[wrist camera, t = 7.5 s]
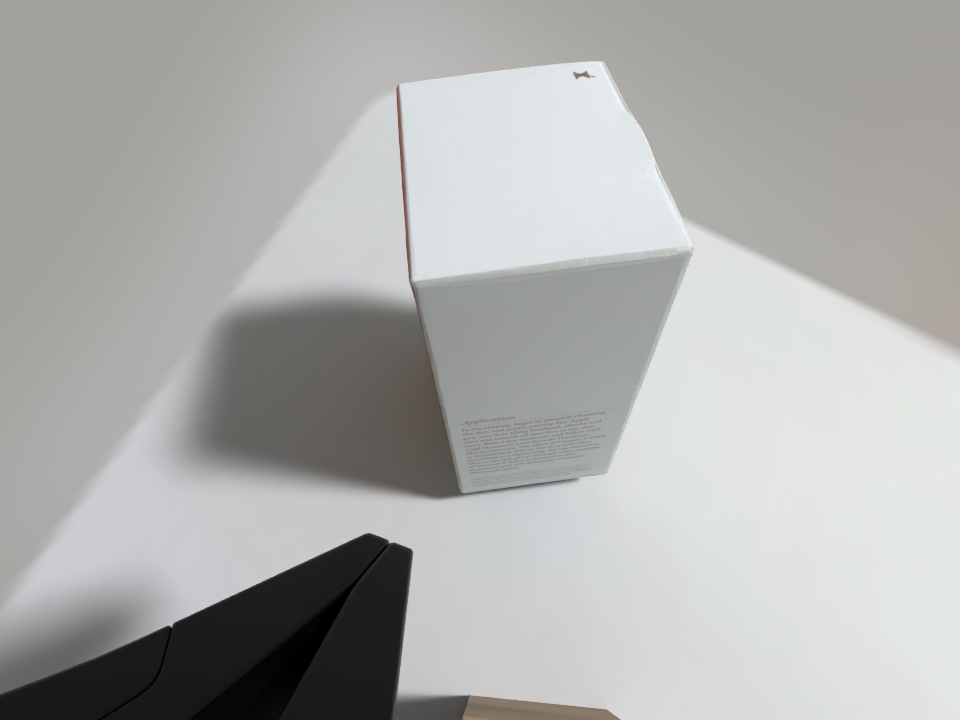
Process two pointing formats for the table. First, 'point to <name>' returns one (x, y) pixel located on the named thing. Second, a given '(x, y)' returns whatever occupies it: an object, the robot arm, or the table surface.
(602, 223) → the small box
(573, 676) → the table surface
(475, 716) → the walnut block
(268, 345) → the table surface
